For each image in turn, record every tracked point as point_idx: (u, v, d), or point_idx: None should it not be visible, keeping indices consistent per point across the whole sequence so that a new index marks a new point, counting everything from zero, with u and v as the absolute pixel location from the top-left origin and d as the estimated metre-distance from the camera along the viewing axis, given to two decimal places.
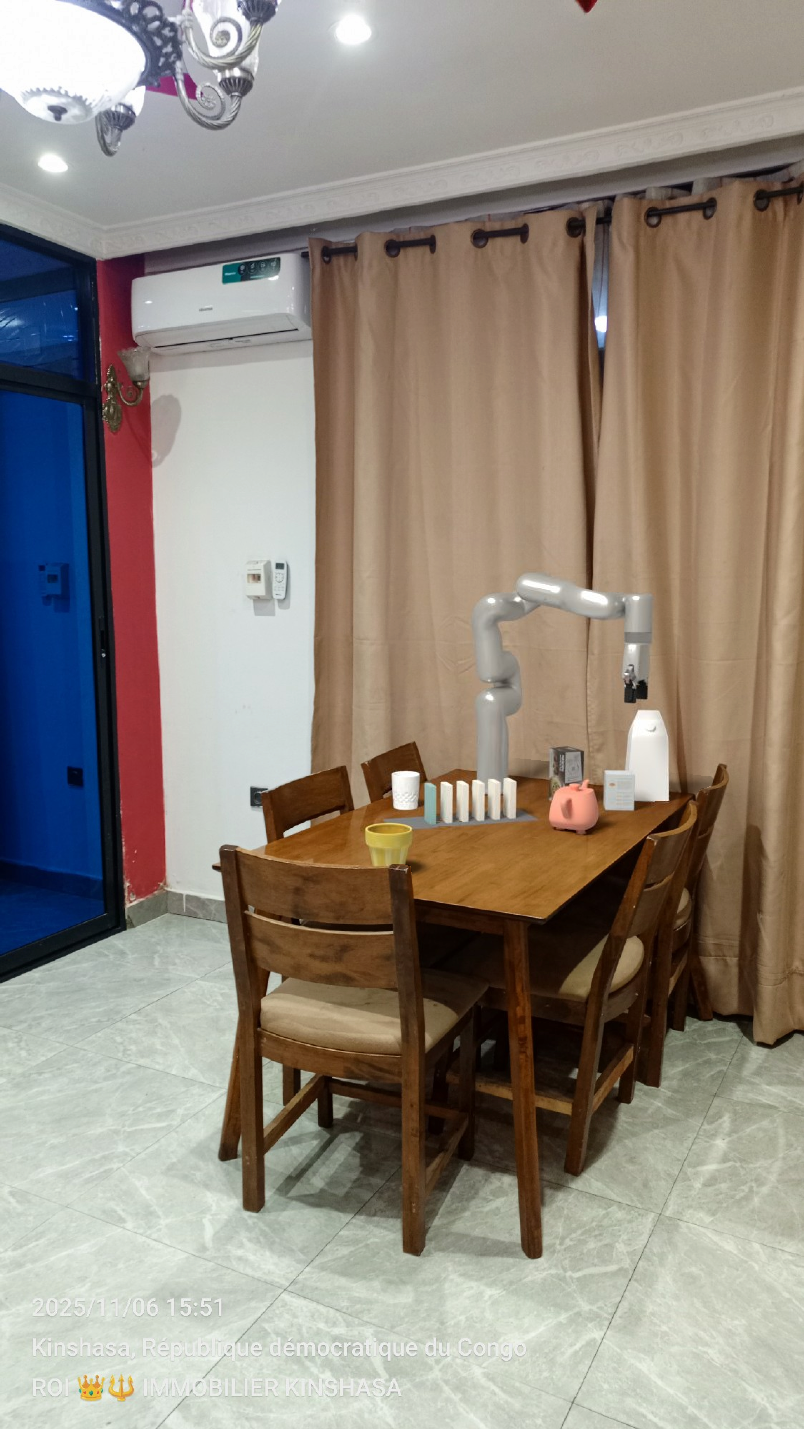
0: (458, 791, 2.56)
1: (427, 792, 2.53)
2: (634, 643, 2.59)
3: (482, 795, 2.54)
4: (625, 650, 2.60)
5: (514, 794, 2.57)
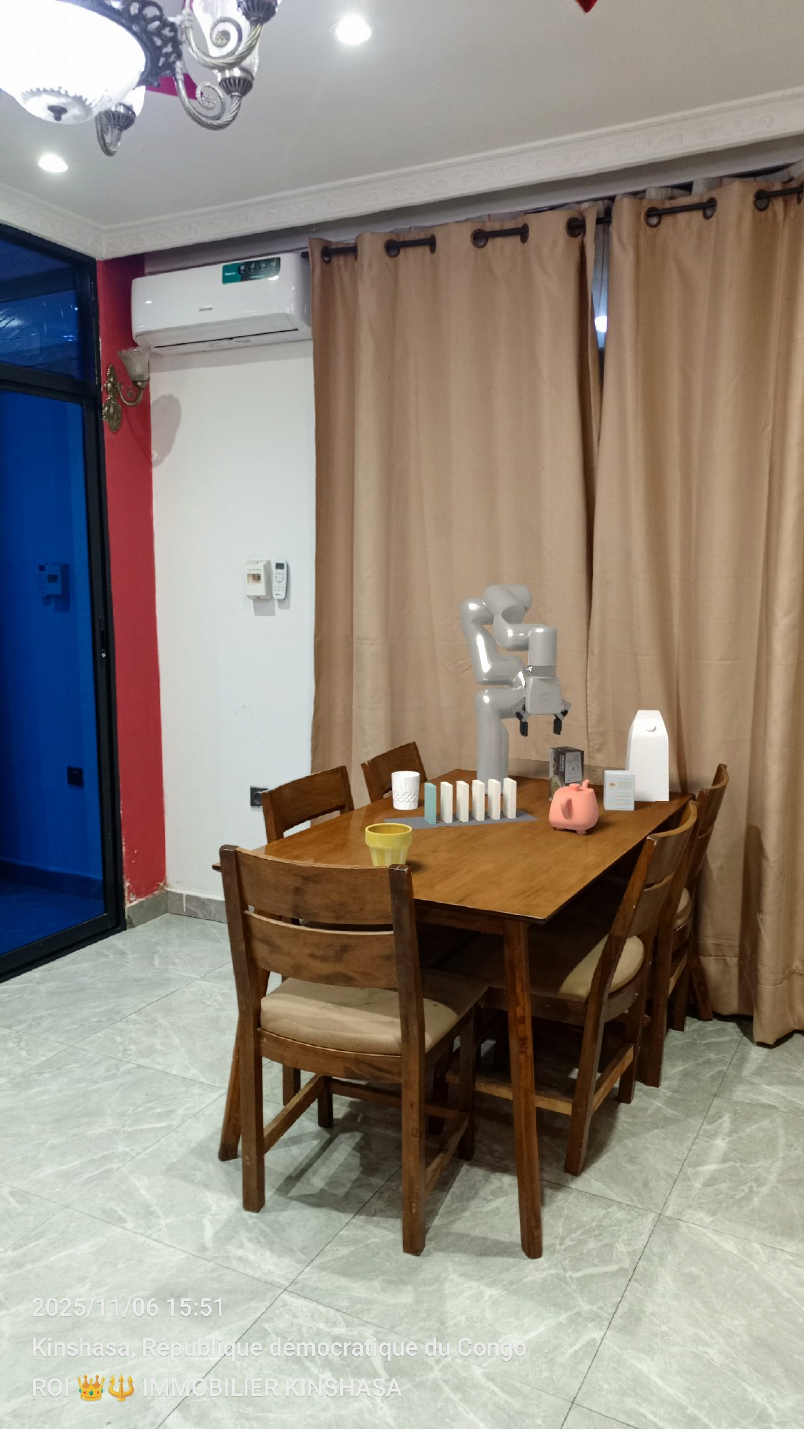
0: (458, 791, 2.56)
1: (427, 792, 2.53)
2: None
3: (482, 795, 2.54)
4: None
5: (514, 794, 2.57)
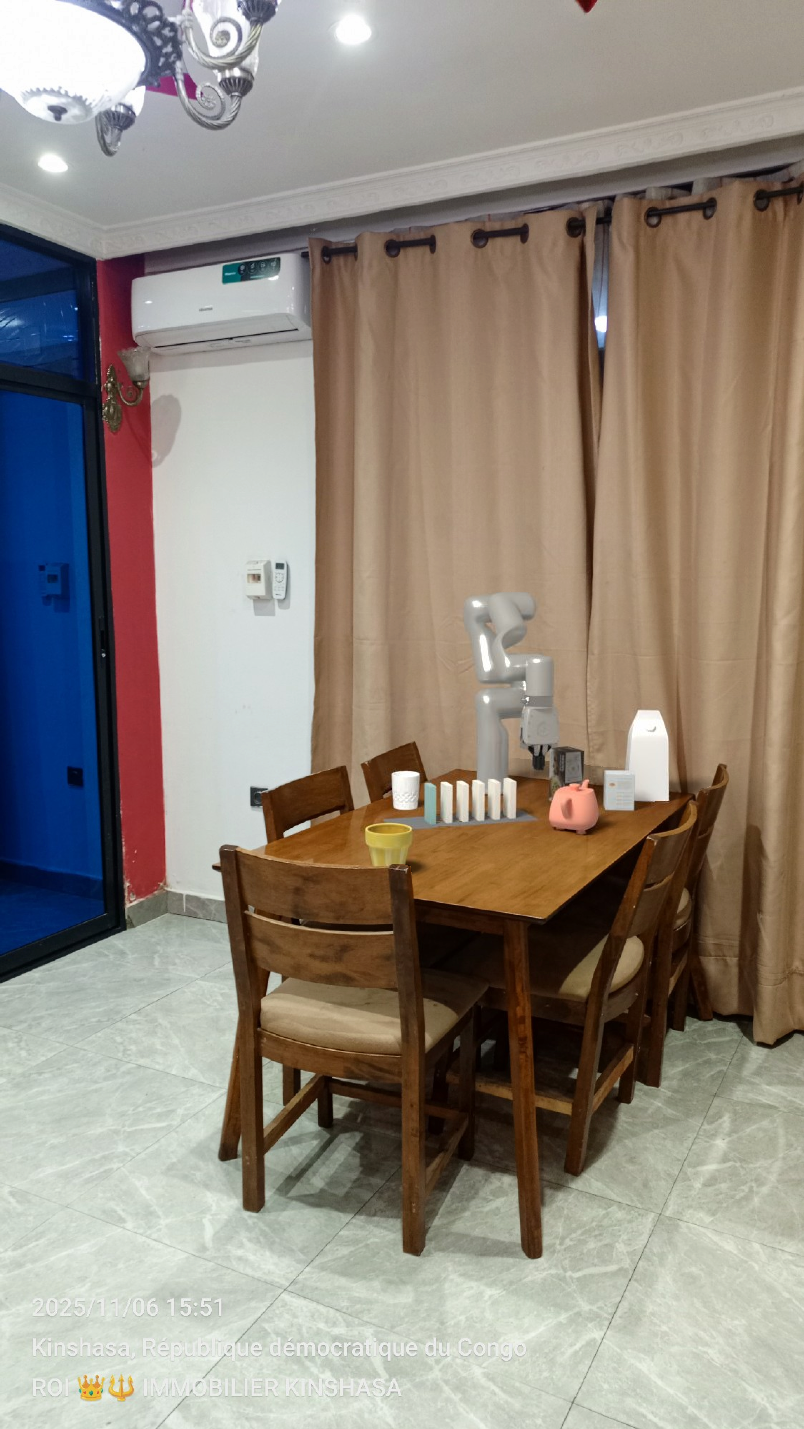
0: (458, 791, 2.56)
1: (427, 792, 2.53)
2: None
3: (482, 795, 2.54)
4: (557, 713, 2.58)
5: (514, 794, 2.57)
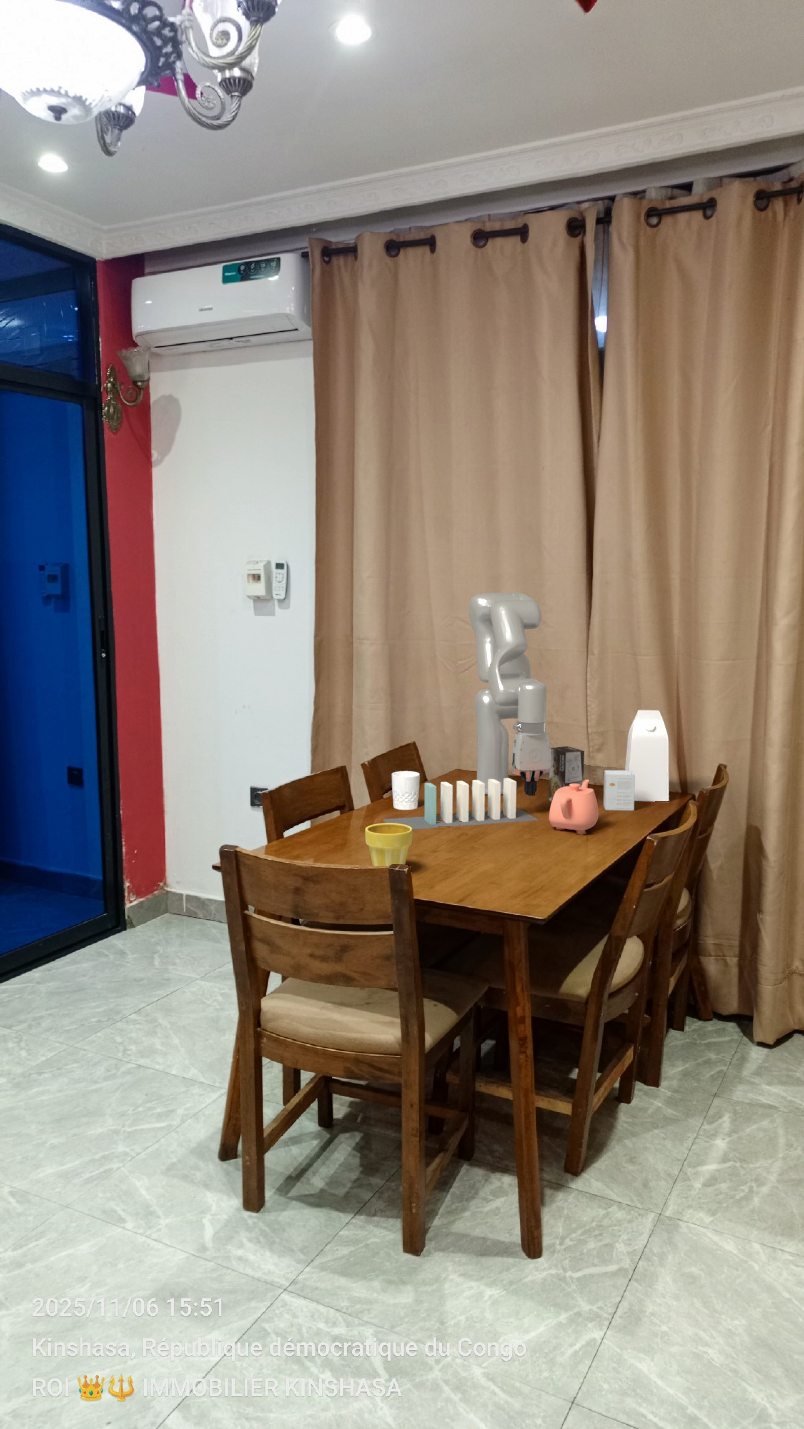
0: (458, 791, 2.56)
1: (427, 792, 2.53)
2: None
3: (482, 795, 2.54)
4: (549, 739, 2.58)
5: (514, 794, 2.57)
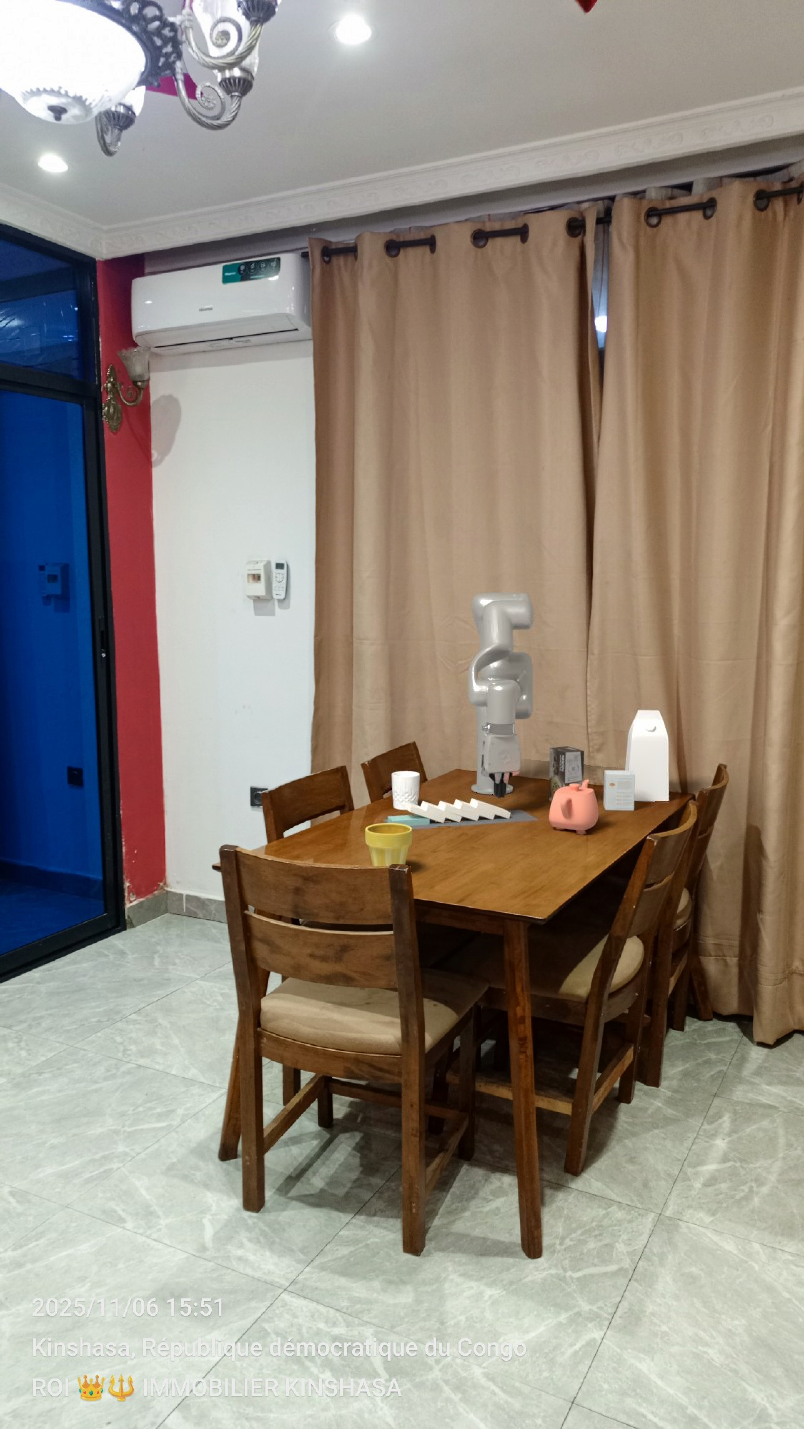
0: None
1: None
2: None
3: (455, 810, 2.53)
4: None
5: (489, 807, 2.56)
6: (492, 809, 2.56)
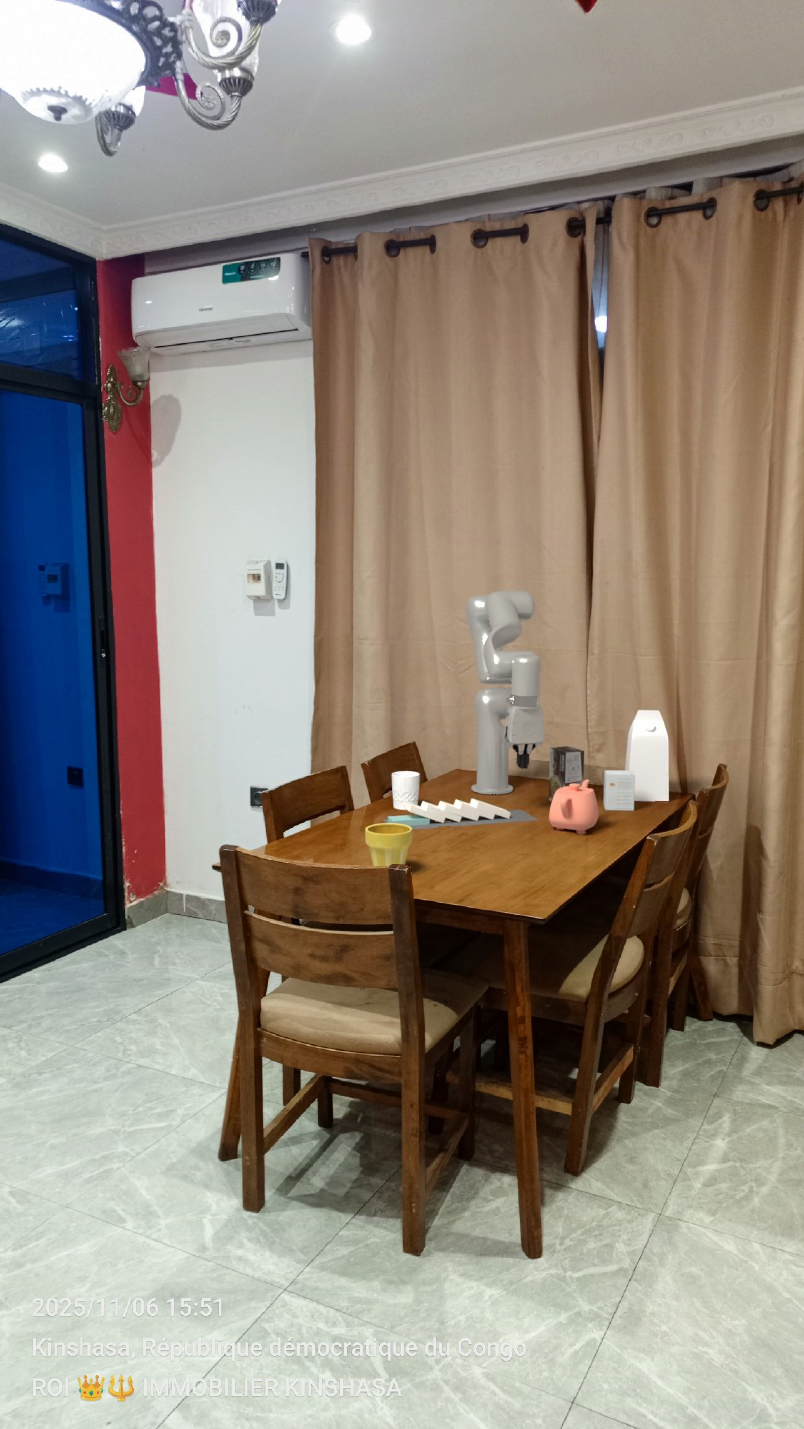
0: None
1: None
2: None
3: (455, 810, 2.53)
4: (542, 712, 2.57)
5: (489, 807, 2.56)
6: (492, 809, 2.56)
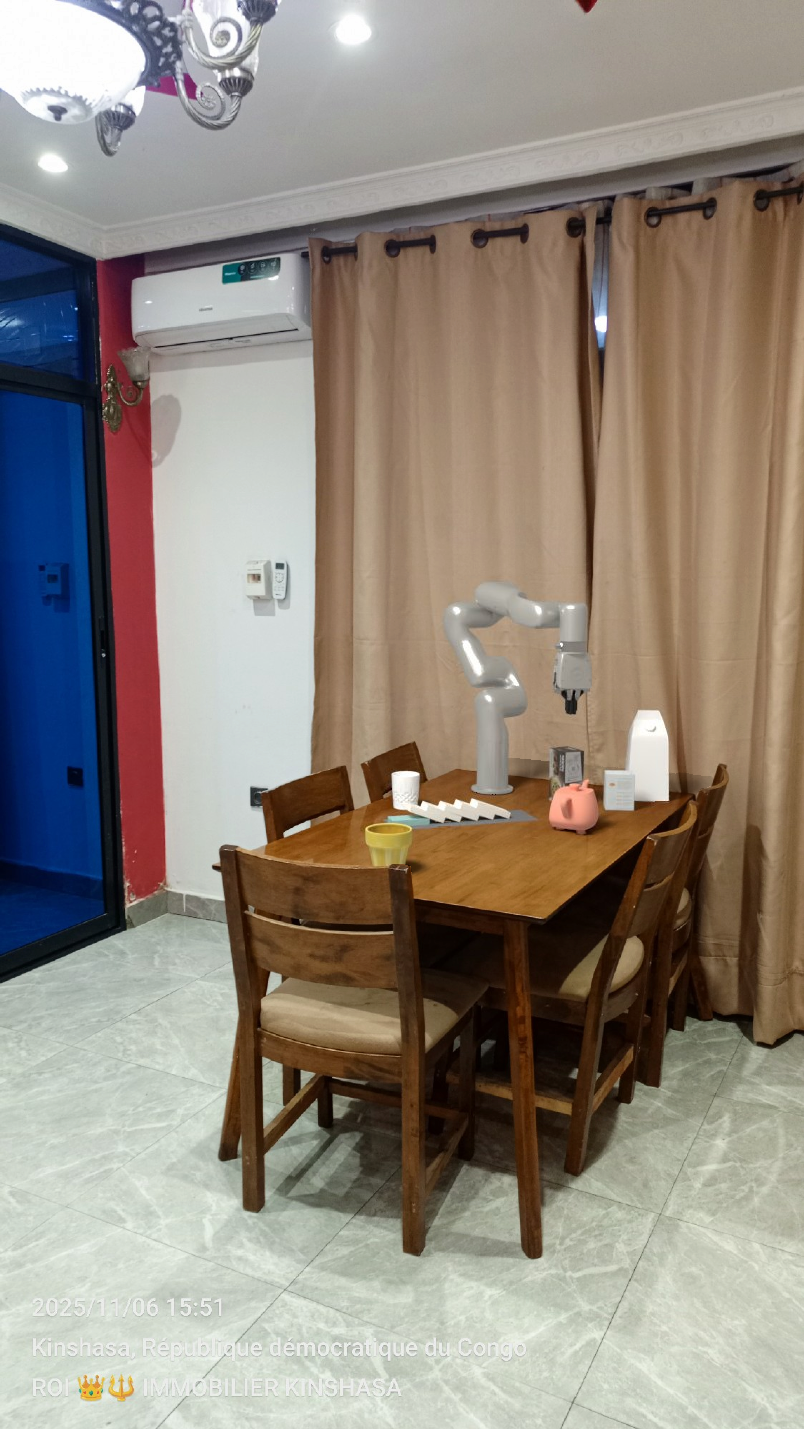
0: None
1: None
2: None
3: (455, 810, 2.53)
4: None
5: (489, 807, 2.56)
6: (492, 809, 2.56)
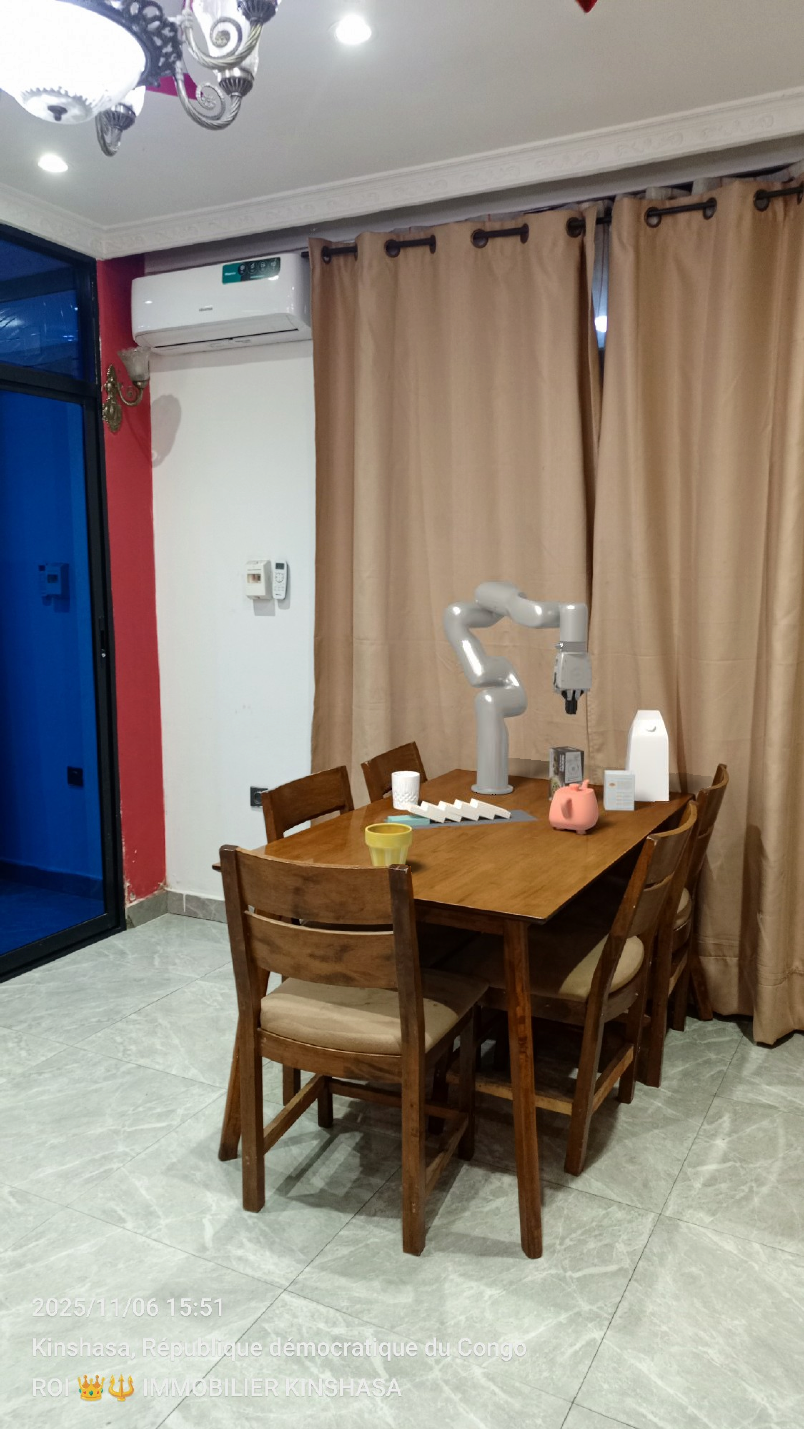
0: None
1: None
2: None
3: (455, 810, 2.53)
4: None
5: (489, 807, 2.56)
6: (492, 809, 2.56)
